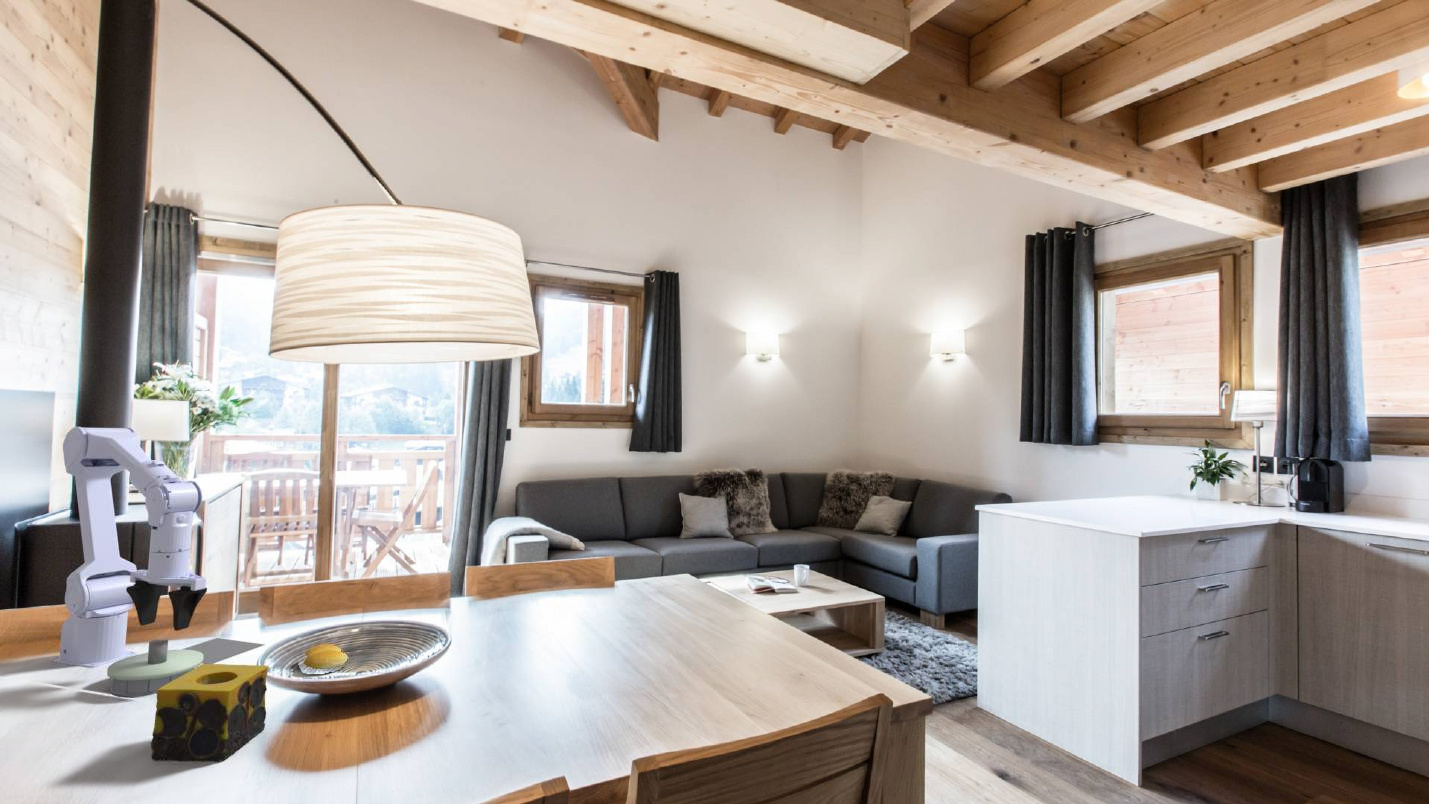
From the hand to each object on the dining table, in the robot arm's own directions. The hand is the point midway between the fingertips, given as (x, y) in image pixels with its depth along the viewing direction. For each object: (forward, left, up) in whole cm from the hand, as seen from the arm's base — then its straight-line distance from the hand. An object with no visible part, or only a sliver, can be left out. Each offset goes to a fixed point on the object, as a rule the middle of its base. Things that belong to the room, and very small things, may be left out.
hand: (164, 626), depth 121 cm
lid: (+1, -2, -6) cm, 7 cm away
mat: (-4, +14, -9) cm, 17 cm away
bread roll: (+21, +14, -10) cm, 27 cm away
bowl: (+1, -2, -9) cm, 10 cm away
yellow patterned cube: (+29, -16, -10) cm, 35 cm away
